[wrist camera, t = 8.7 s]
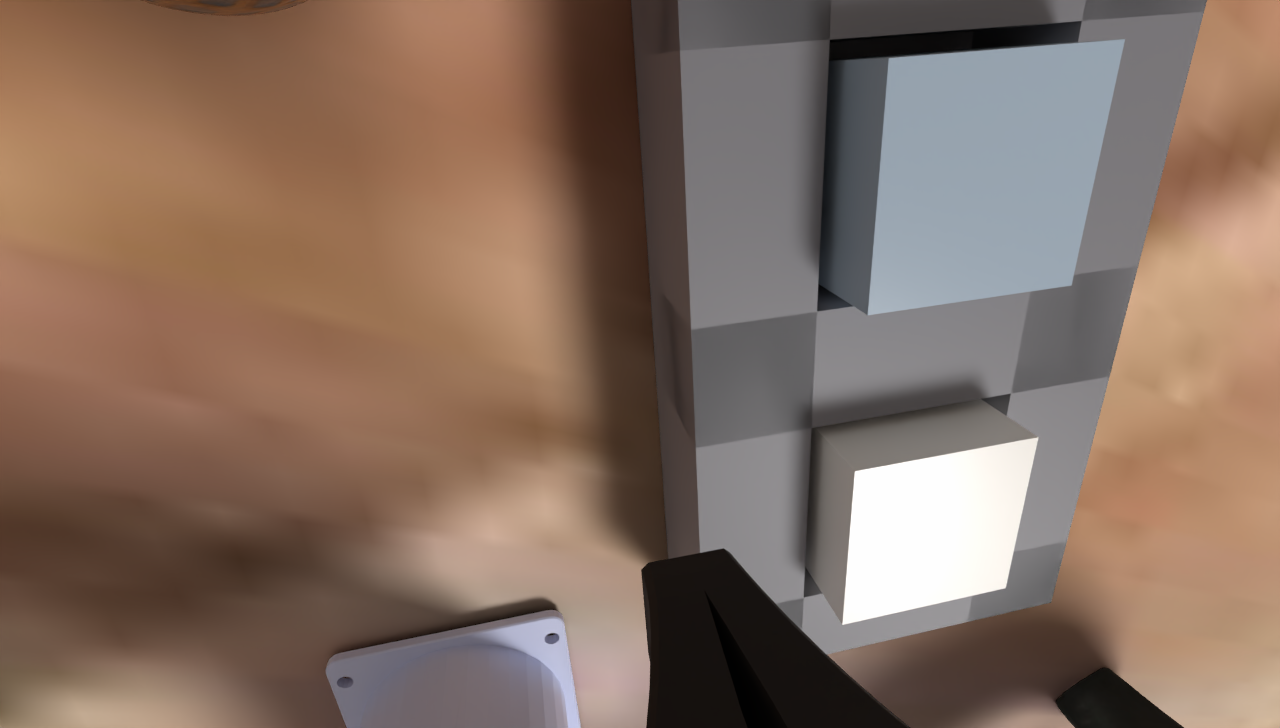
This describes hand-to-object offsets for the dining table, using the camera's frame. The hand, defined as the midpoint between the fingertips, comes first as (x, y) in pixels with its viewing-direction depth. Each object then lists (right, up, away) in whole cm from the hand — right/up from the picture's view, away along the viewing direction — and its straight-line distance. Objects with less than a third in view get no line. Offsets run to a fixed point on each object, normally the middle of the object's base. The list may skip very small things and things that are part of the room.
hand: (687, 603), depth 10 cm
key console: (+6, +6, +10) cm, 13 cm away
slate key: (+6, +9, +7) cm, 13 cm away
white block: (+6, +1, +10) cm, 12 cm away
